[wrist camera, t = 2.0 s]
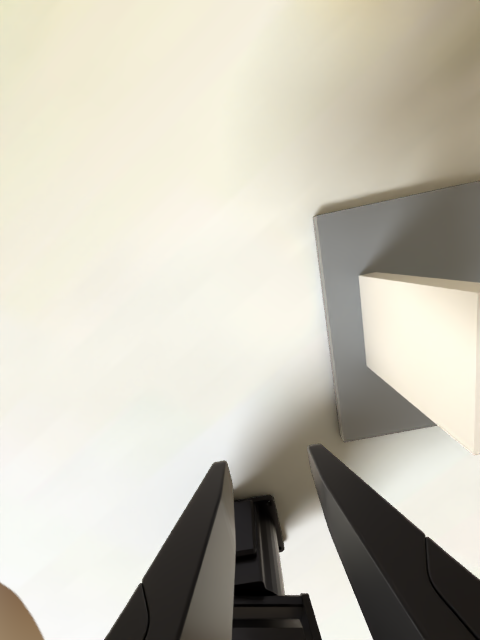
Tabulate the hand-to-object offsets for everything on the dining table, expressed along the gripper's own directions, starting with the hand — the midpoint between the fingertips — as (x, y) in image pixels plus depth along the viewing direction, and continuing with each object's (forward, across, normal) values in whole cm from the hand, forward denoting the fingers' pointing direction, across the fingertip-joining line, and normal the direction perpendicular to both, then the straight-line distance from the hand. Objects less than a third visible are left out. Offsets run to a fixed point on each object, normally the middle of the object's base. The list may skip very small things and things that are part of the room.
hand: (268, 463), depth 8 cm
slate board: (+12, -14, +1) cm, 18 cm away
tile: (+11, -9, 0) cm, 14 cm away
